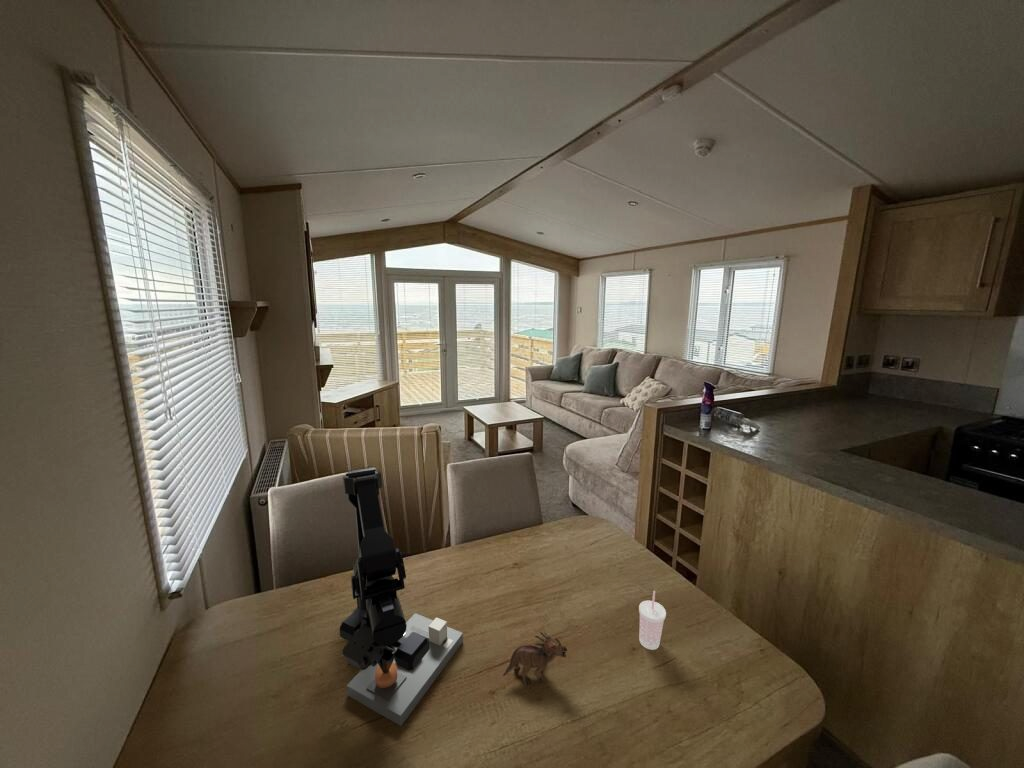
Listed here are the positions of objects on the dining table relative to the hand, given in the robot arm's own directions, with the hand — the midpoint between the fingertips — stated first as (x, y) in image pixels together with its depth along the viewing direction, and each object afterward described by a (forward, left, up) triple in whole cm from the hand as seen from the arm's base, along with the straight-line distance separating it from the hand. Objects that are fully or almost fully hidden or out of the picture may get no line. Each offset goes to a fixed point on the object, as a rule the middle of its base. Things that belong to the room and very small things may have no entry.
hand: (386, 671), depth 85 cm
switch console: (0, +7, -6) cm, 9 cm away
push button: (0, 0, -3) cm, 3 cm away
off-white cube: (+3, +14, -3) cm, 15 cm away
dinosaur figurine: (+25, +18, -6) cm, 31 cm away
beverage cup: (+47, +38, -6) cm, 61 cm away
